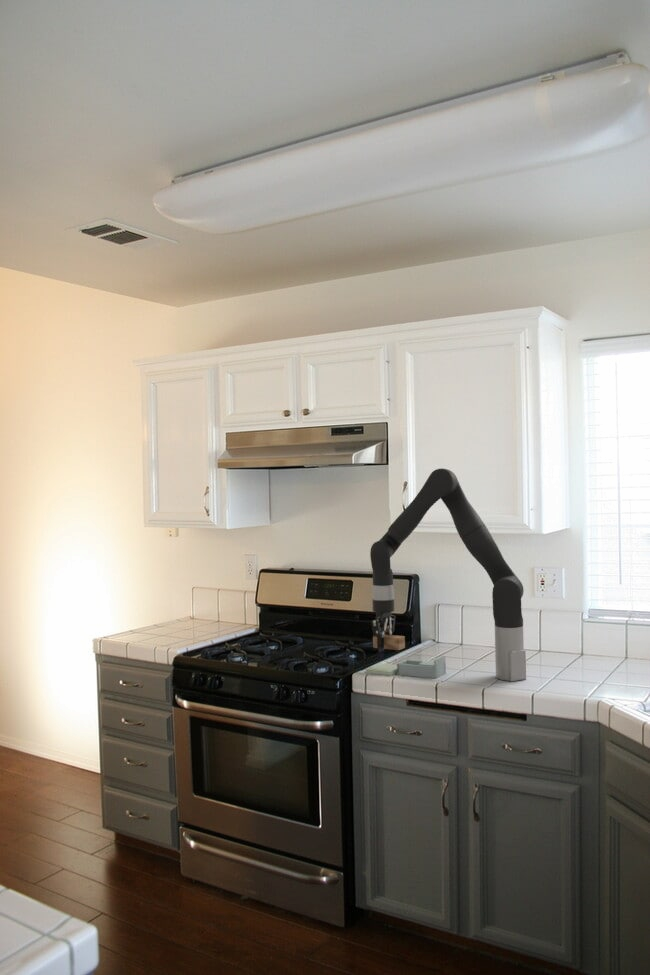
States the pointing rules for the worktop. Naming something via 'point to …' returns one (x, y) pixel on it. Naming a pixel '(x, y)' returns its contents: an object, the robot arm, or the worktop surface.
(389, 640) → the walnut bar
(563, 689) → the worktop surface
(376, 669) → the plate
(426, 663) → the pale blue tray
